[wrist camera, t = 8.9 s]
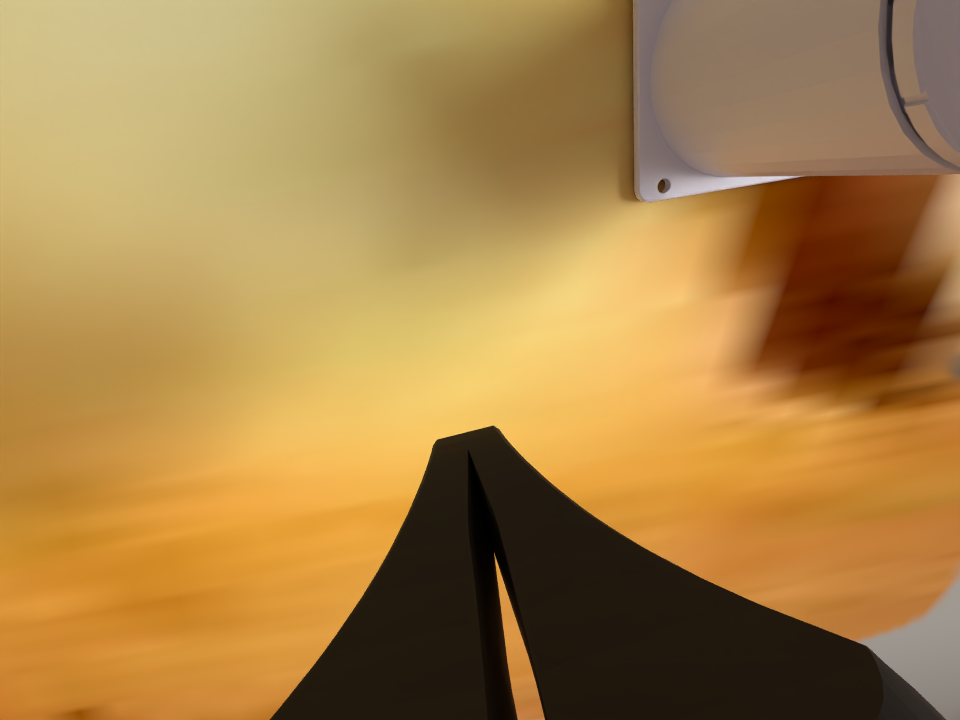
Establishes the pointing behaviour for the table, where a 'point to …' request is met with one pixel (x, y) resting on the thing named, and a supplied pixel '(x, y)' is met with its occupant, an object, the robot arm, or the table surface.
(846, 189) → the table surface
